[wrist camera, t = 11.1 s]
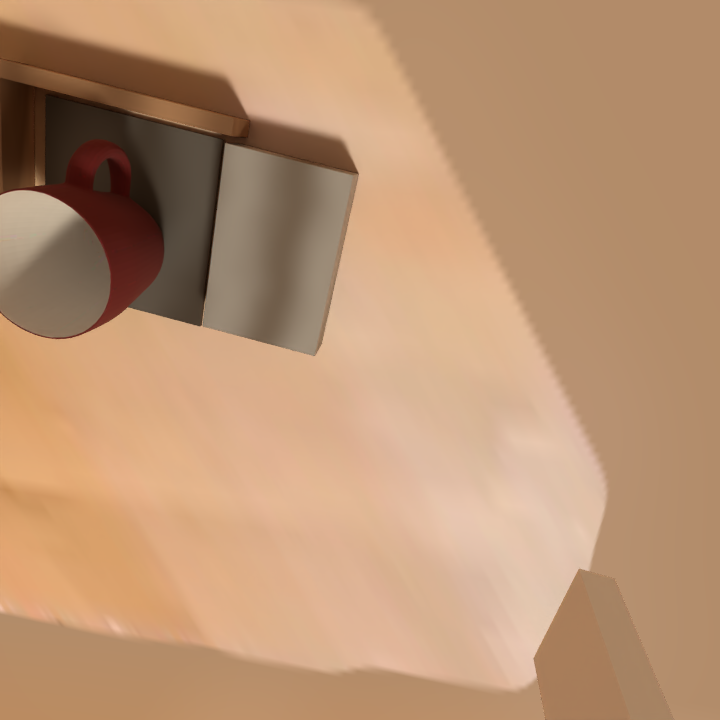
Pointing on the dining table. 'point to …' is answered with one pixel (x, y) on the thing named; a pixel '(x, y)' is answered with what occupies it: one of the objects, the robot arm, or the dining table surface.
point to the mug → (76, 248)
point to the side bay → (198, 205)
